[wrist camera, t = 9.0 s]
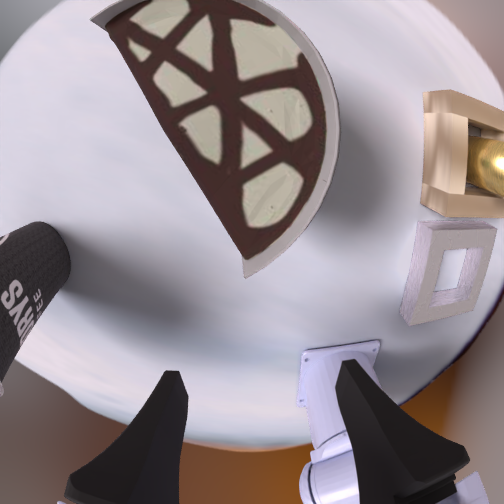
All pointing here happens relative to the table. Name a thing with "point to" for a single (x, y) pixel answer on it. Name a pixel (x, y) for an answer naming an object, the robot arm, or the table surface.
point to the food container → (237, 110)
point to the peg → (486, 164)
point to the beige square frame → (456, 154)
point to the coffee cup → (27, 283)
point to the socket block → (428, 265)
